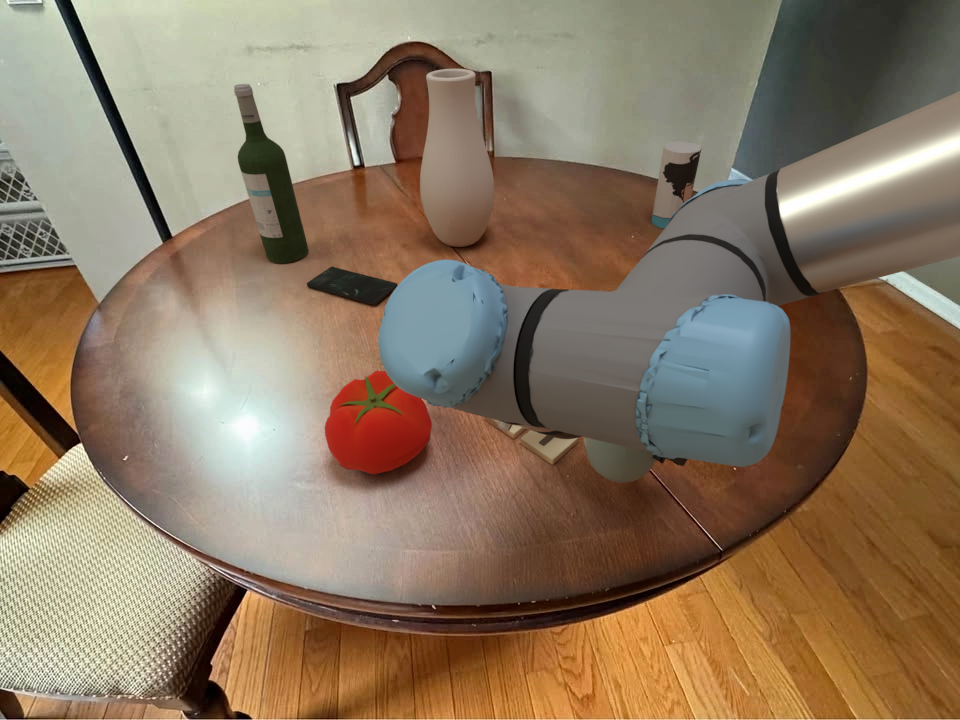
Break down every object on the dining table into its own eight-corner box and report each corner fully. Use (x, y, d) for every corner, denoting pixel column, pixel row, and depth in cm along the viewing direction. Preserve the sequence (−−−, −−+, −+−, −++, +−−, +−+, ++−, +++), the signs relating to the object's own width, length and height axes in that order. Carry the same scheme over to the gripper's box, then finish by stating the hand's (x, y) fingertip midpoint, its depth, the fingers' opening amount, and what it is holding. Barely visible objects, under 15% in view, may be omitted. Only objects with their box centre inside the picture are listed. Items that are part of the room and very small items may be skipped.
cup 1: (671, 471, 59) (689, 401, 52) (618, 507, 55) (631, 436, 49) (617, 429, 64) (628, 360, 58) (566, 459, 60) (572, 390, 54)
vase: (418, 255, 105) (398, 82, 87) (434, 224, 116) (420, 64, 97) (489, 259, 103) (485, 83, 85) (499, 227, 114) (497, 64, 95)
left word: (578, 442, 67) (579, 435, 66) (552, 465, 64) (553, 459, 63) (511, 400, 73) (511, 393, 72) (484, 419, 70) (484, 413, 69)
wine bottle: (314, 245, 110) (275, 79, 91) (300, 264, 104) (255, 91, 85) (276, 244, 111) (229, 80, 92) (260, 264, 105) (206, 91, 86)
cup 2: (683, 231, 110) (699, 154, 100) (648, 226, 112) (661, 151, 103) (687, 217, 115) (703, 143, 105) (654, 213, 117) (666, 140, 107)
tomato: (414, 499, 61) (405, 445, 56) (313, 477, 64) (295, 424, 58) (450, 419, 70) (445, 367, 65) (360, 403, 73) (349, 352, 68)
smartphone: (331, 265, 101) (398, 282, 95) (332, 270, 102) (399, 287, 96) (305, 283, 97) (373, 302, 91) (306, 288, 97) (374, 307, 91)
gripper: (432, 367, 47) (547, 410, 65) (650, 507, 35) (714, 510, 53) (474, 288, 46) (578, 354, 65) (709, 402, 34) (753, 442, 53)
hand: (639, 424), depth 59 cm, fingers closed on cup 1, 8 cm apart
